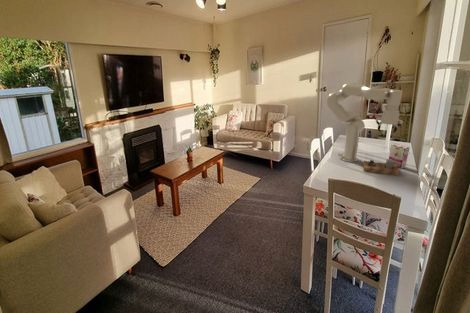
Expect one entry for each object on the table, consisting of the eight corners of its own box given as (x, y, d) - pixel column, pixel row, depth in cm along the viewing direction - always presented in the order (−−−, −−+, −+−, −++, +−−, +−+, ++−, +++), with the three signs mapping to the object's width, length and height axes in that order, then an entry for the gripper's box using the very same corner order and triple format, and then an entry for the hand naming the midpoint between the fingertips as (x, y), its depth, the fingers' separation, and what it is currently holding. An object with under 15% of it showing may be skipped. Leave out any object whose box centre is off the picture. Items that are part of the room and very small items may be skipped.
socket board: (363, 171, 182) (364, 165, 180) (363, 164, 194) (363, 159, 192) (398, 175, 173) (399, 169, 171) (395, 168, 185) (396, 162, 183)
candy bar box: (405, 167, 184) (410, 147, 179) (400, 169, 183) (405, 148, 177) (391, 162, 194) (395, 143, 189) (387, 163, 193) (391, 144, 187)
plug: (385, 171, 180) (387, 161, 177) (384, 169, 184) (386, 159, 181) (391, 172, 179) (393, 161, 176) (390, 170, 182) (392, 160, 179)
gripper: (378, 107, 172) (373, 131, 179) (407, 110, 165) (401, 134, 171) (377, 106, 178) (372, 128, 185) (406, 108, 171) (399, 131, 178)
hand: (386, 131), depth 178 cm, fingers open, 9 cm apart
